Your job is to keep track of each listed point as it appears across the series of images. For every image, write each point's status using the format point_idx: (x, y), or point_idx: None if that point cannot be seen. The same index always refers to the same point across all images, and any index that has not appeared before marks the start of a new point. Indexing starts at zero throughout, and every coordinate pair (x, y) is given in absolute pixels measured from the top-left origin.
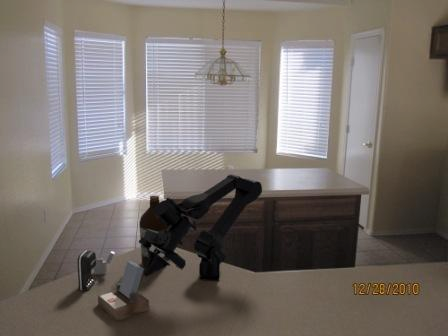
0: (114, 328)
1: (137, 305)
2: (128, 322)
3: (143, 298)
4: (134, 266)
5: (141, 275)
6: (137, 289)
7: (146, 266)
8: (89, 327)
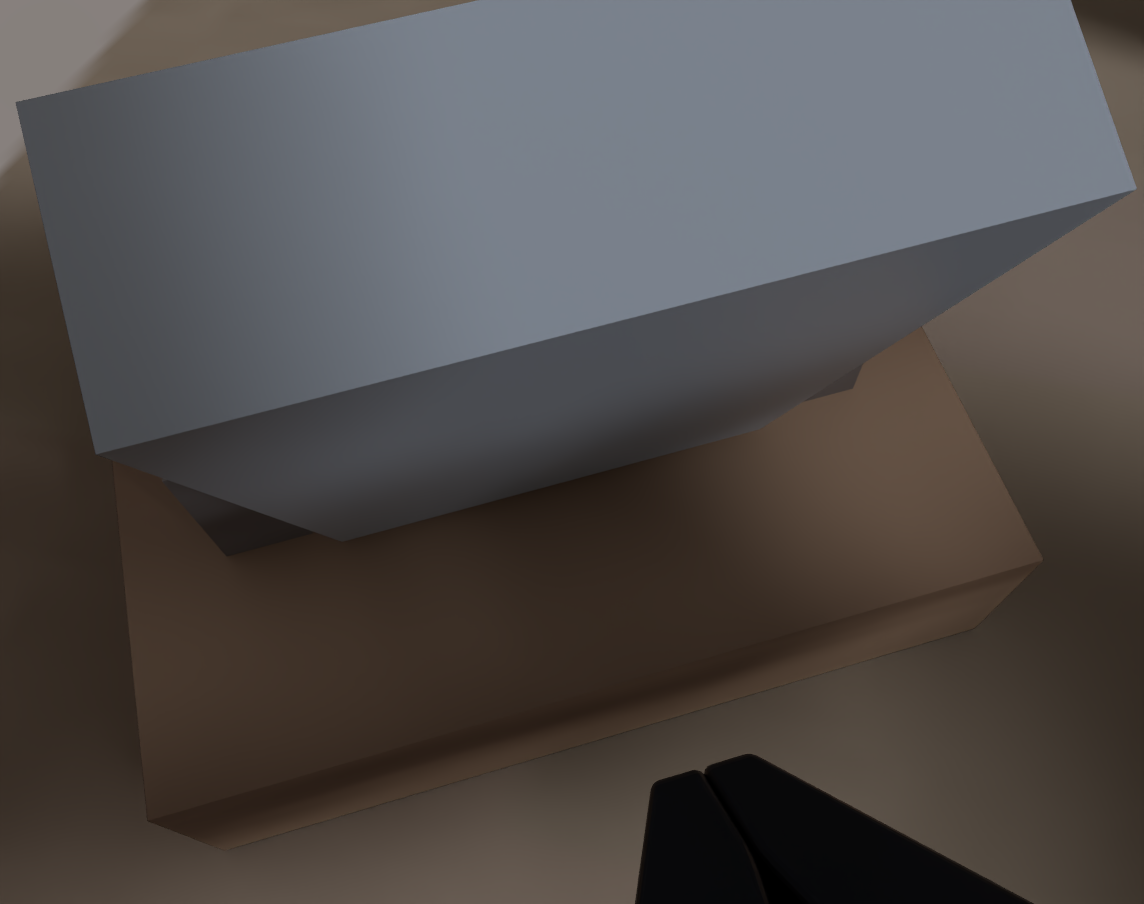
0: (12, 251)
1: (129, 558)
2: (39, 436)
3: (289, 727)
4: (354, 40)
5: (200, 485)
6: (303, 527)
7: (933, 899)
8: (213, 28)
